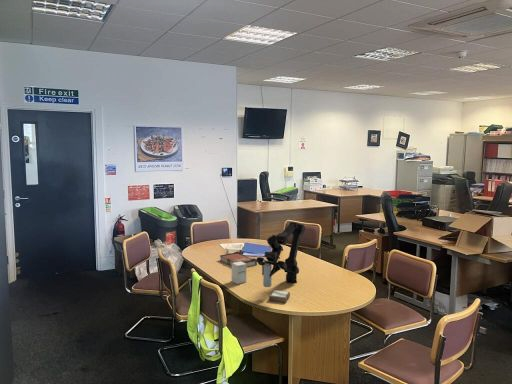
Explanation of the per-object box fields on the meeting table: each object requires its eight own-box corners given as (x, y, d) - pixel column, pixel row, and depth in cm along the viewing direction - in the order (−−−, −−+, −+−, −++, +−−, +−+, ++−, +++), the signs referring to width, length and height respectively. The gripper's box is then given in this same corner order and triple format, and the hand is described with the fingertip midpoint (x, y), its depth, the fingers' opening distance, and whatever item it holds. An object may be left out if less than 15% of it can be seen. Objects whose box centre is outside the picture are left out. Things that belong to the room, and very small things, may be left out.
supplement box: (237, 284, 258) (237, 265, 256) (231, 281, 264) (231, 262, 262) (246, 282, 262) (246, 263, 261) (240, 279, 268) (240, 261, 267)
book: (219, 261, 311) (219, 254, 310) (237, 257, 321) (237, 251, 320) (237, 269, 290) (237, 263, 289) (256, 265, 300) (256, 259, 299)
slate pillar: (268, 283, 240) (269, 263, 238) (272, 286, 235) (273, 265, 234) (261, 285, 237) (262, 264, 236) (265, 287, 233) (266, 267, 232)
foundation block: (273, 294, 240) (273, 289, 240) (289, 296, 237) (289, 291, 237) (269, 300, 231) (269, 295, 231) (285, 303, 228) (286, 297, 228)
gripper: (257, 243, 242) (247, 266, 234) (285, 248, 232) (275, 271, 224) (264, 253, 249) (254, 275, 241) (290, 258, 240) (282, 281, 232)
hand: (266, 275), depth 234 cm, fingers closed on slate pillar, 5 cm apart
